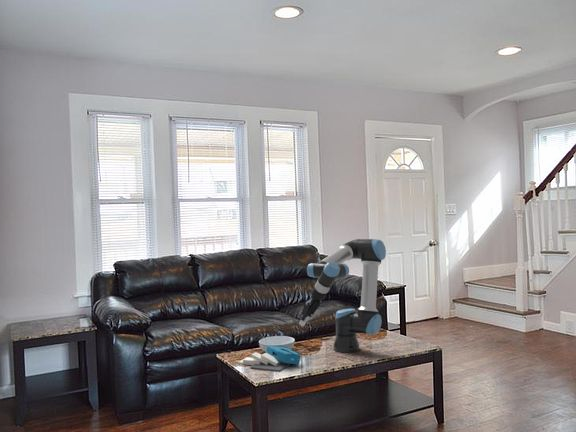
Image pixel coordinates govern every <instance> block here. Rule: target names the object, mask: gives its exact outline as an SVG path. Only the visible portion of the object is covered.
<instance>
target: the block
mask: <svg viewBox="0 0 576 432" xmlns="http://www.w3.org/2000/svg"><path fill="white" fill-rule="evenodd" d="M265 353H268V354H270V355H271V356H273V357H274V358H275V359H277V360H279V361H282V362H284V363H289V364H290V365H291V364H292V365H299V364H300V361H301V354H299V353H298V352H296V351H295V350H292V349H291V350H290V349H287V348H284V347H275V346H268V347H267V351H266V352H265Z"/></svg>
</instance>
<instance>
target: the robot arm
mask: <svg viewBox="0 0 576 432" xmlns="http://www.w3.org/2000/svg"><path fill="white" fill-rule="evenodd" d="M386 250H387V249H386V246H385V244H384V242H383V241H382V240H380V239H378V238H377V239H376V238H373V239H372V238H369V239H368V238H365V239H364V238H362V239H360V238H356V239H353V240H349V241H347V242H345V243H343V244H342V245H340V246H339V248H338V249H337V250H336V251H334V252H332V253H331V254H329V255H328V256H326V257H325V258H323V259H322V260H320V261H318V262H317V263H316V262H312V263H309V264H308V265H307V267H306V273H307V276H308V277H310V278H314V279H315V278H317V281H316V283H315V284H314V286H313V288H312V289H311V292H310V294H311V296H310V297H309V299H308V300H305V301H304V306H303V308H302V310H301V315H302V316H301V318H300V320H299V322H298V324H299V326H301V327H305V325H306V324H307V321H308V319H309V318H312V315H314V314H315V312H316V311H317V310H318V309H319V308H320V305H322V303H323V302H324V300H325V299H326V297H327V295H328V294H327V293H329V291H330V289H331V287H332V285H333V284H334V282H335V281H339V280H341V279H344V278H346V277H348V275H349V274H350V269H349V266H348V265H347V264H346V263H344V262H346V261H350V260H358V259H359V260H360V262H361V264H362V265H363V266H362V280H361V281H362V283H361V295H360V296H361V297H360V306H359V307H358V308H357V310H356V309H355V308H343V309H340V310H337V311H336V312H335V318H334V319H335V339H334V342H333V346H332V347H333V351H335V352H339V353H348V354H349V353H355V352H358V351H359V350H360V344H359V341H358V338H357V334H362V335H363V334H364V335H368V336H369V335H372V336H373V335H377V334H378V333H379V331H380V329H381V327H382V315H380V314H379V310H378V309H377V297H378V296H377V293H378V280H379V279H378V278H379V266H380V265H381V264H382V261H383V260H385V258H386V255H387V251H386Z"/></svg>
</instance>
